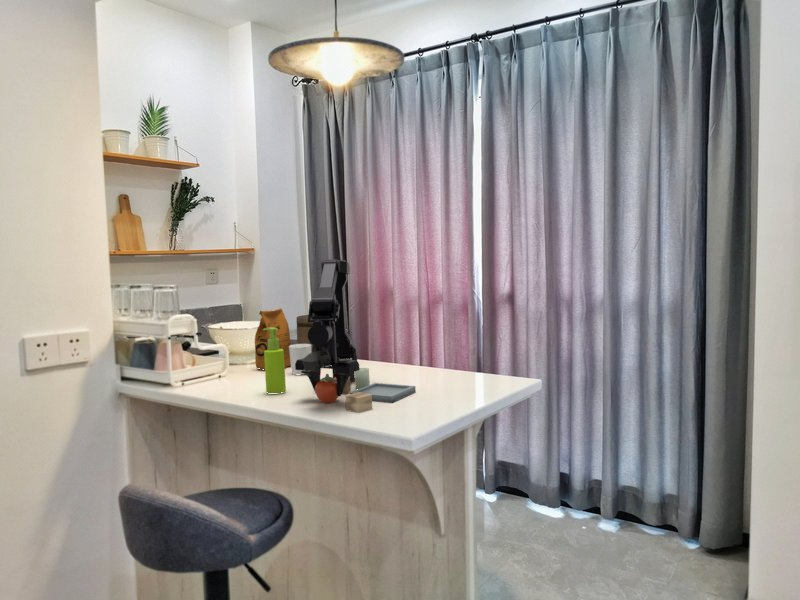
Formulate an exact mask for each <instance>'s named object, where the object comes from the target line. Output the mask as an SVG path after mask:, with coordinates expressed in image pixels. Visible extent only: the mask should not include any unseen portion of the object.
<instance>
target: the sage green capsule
mask: <svg viewBox="0 0 800 600" xmlns="http://www.w3.org/2000/svg"><path fill="white" fill-rule="evenodd" d="M354 383H355V386H354V387H355V390H357V389H360V388H363V387H365V386H368V385H371V383H370V368H367V367H359V370H358V371H355V380H354Z"/></svg>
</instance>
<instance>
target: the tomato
mask: <svg viewBox="0 0 800 600" xmlns="http://www.w3.org/2000/svg"><path fill="white" fill-rule="evenodd" d="M315 393H316V394H315ZM314 394H315V395H316V397H317V399H318V400H319V402H322V403H323V402H324V403H323V404H331V403H332V402H333V403H335V402H336V401H337V400H338V398H339V397H338V394H337V381H336V380H334V379H333V376H330V375H329V373H326V374H325V376H324V377H322V378H320V381H319V382H317V384H316V385H315V391H314ZM333 403H332V404H333Z"/></svg>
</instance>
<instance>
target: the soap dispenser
mask: <svg viewBox="0 0 800 600" xmlns="http://www.w3.org/2000/svg"><path fill="white" fill-rule="evenodd" d="M263 330H270V338H269V339H268V350H265V351H264V359H265V370H264V372H265V376H264V377H265V391H266V392H268V393H281V392H285V391H286V392H287V389H286V388H287V387H286V385H287V384H286V371H285V370H286V368H285V366H284V350H283V349H279V339H278V338H276V331H277V330H278V328H274V327H270V328H264V329H263ZM286 392H285V393H286Z"/></svg>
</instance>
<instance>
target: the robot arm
mask: <svg viewBox="0 0 800 600" xmlns="http://www.w3.org/2000/svg"><path fill="white" fill-rule="evenodd" d="M350 273H351V270H350V263H349V262H348V261H346V260H345V259H340V260H339V259H324V260H322V262H320V274H321V277H320V281H319V288H318V290H317V291H315V292H314V293H313V294H312V298H311V300H310V301H309V306H308V314H307V315H308V322H313V324H314V325H313V327H311V328H310V330H309V332H308V340H309V342H310V343H311V344H313V347H312V353H310V354H308V355H307V356H306V357H305V358H302V359H299V360H297V361H296V363H295V370H303V371H301V372H302V373H304V374H305V375H304V376H306V377H307V378H308V380H309V382H310V384H311V386H312V389H313V392H314V394H315V395H316V393H315V385H316V384H317V382H319V381H320V380H321V373H322V372H321V371H322V369H327V370H329V369H330V370H332V371H331V372H332V378H335V377H336V379H337V394H338V398H339V397H341V396H342V395H343V394H342V392H343V389H344V387H345V384H346V382H347V380H348V378H349V377H350V383H351V382H353V381H355V371H358V370H359V368H360V363H359V361H358V354H357V349H356V347H355V344H354V343H353V338H352V337H351V335H350V334H349V333H348V330H347V318H346V317H347V316H346V303H345V302H346V301H345V286H346V284H347V282H348V279H349V275H350ZM313 313H314V316H313ZM312 316H313V317H312Z"/></svg>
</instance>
